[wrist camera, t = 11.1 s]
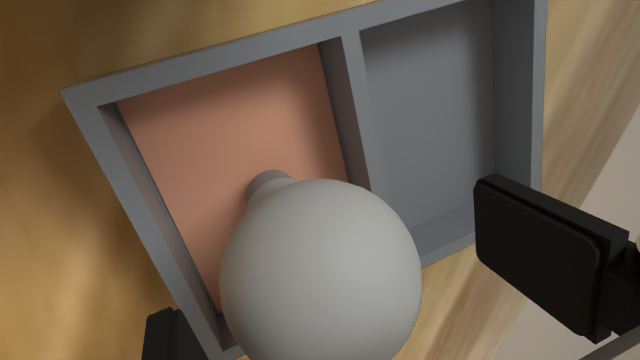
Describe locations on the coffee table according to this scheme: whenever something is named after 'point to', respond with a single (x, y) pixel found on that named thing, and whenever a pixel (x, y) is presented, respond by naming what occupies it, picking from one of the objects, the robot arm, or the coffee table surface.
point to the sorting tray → (320, 128)
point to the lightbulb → (319, 273)
